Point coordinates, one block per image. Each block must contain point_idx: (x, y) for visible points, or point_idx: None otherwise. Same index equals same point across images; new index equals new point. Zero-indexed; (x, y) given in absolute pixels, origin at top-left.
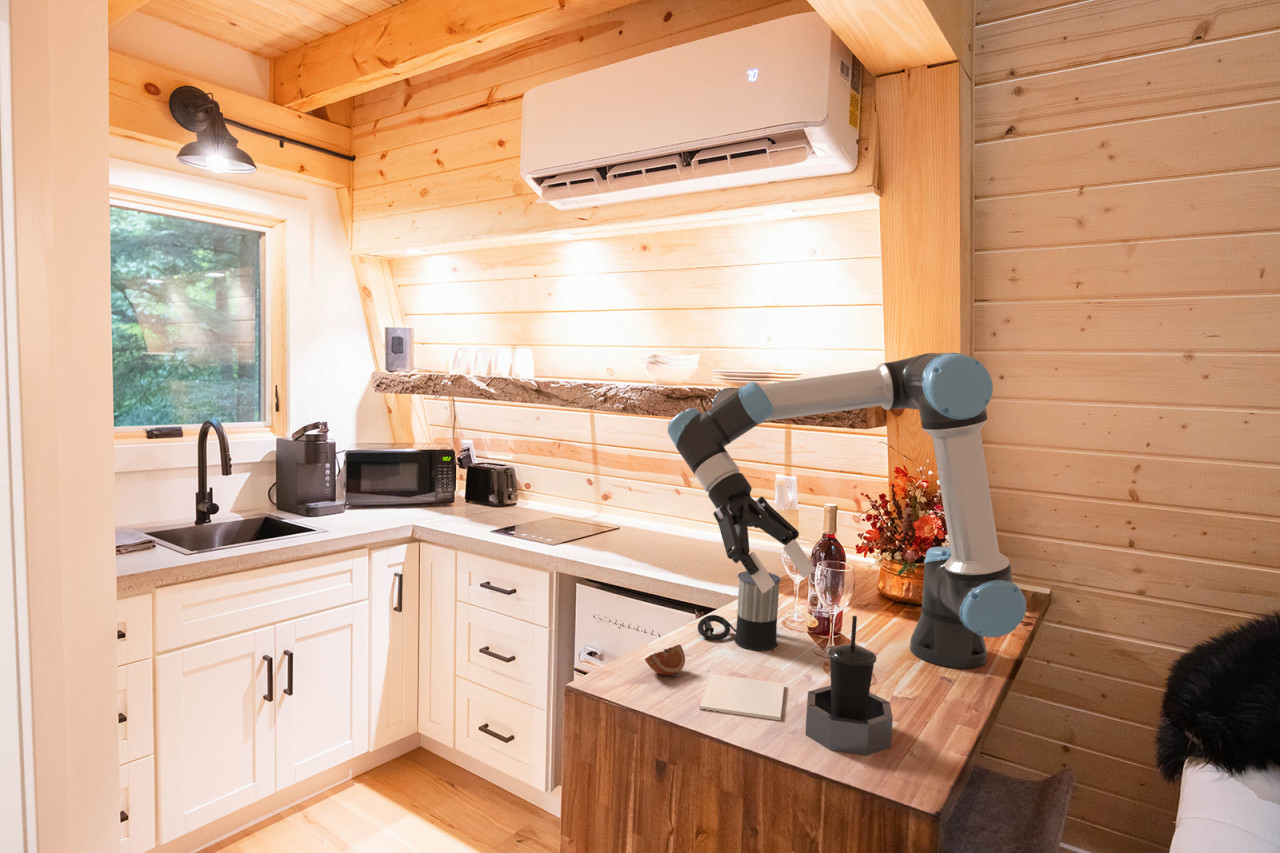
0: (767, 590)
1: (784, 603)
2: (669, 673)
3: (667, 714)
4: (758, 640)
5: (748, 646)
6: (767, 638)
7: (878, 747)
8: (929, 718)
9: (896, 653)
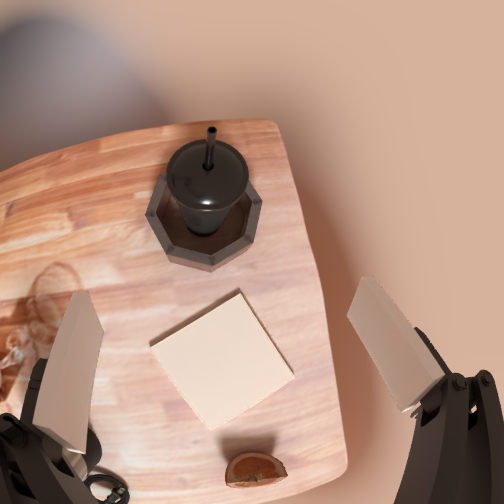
0: (352, 305)
1: None
2: (262, 453)
3: (329, 386)
4: None
5: (96, 442)
6: None
7: None
8: (104, 175)
9: None
